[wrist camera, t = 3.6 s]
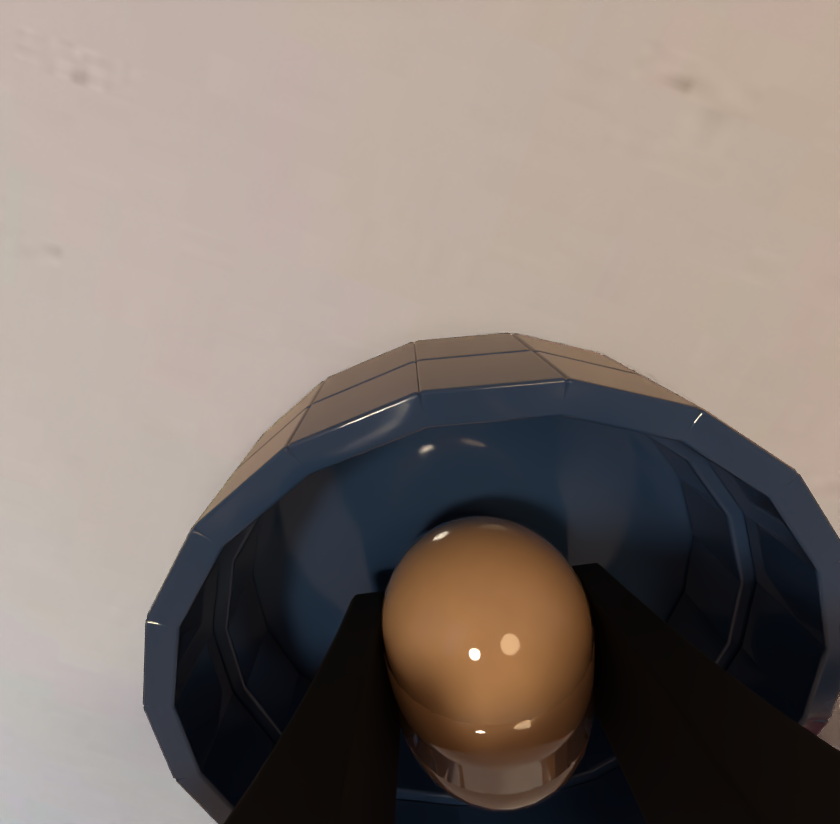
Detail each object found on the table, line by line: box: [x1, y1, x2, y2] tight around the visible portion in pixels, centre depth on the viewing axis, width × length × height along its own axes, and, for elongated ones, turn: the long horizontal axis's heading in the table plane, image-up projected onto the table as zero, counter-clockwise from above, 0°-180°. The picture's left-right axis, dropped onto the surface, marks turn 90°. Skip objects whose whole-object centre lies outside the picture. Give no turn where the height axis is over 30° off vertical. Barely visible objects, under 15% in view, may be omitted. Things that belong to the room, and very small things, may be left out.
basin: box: [143, 333, 840, 824], centre depth 9 cm, size 11×11×4 cm
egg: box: [381, 515, 595, 812], centre depth 8 cm, size 5×4×4 cm
